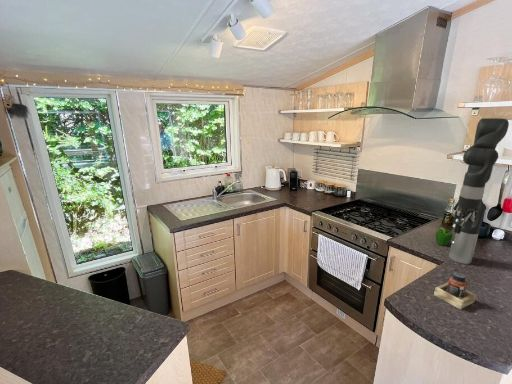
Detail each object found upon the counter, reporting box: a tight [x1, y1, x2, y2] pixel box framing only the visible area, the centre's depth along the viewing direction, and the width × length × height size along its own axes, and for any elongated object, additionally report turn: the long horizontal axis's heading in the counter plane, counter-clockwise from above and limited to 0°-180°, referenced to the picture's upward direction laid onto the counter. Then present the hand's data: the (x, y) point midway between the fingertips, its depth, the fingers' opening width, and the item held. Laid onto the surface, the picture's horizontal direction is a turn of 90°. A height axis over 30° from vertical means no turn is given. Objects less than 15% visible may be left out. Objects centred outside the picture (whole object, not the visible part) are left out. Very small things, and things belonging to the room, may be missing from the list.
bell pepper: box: [435, 227, 454, 246], centre depth 161 cm, size 8×8×10 cm
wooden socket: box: [433, 281, 477, 310], centre depth 111 cm, size 10×10×4 cm
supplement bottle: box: [446, 272, 468, 299], centre depth 110 cm, size 6×6×11 cm
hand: (462, 231), depth 114 cm, fingers open, 8 cm apart
